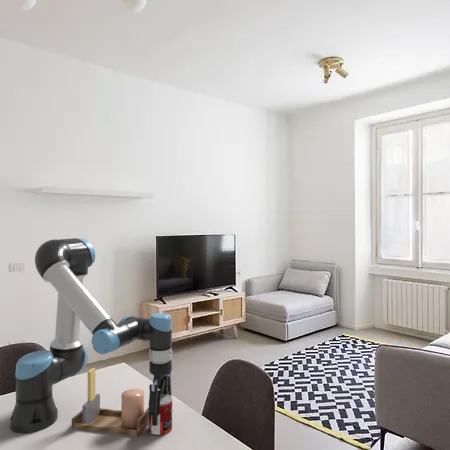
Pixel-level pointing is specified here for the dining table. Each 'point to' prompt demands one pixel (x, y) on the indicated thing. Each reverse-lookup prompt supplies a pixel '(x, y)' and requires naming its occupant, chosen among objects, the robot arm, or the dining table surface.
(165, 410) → the canned food
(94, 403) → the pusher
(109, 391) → the dining table surface
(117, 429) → the brown wooden tray
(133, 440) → the dining table surface
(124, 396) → the peach rounded capsule
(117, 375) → the dining table surface
